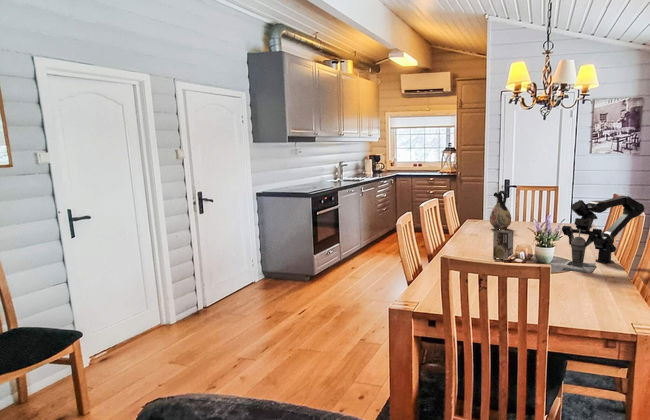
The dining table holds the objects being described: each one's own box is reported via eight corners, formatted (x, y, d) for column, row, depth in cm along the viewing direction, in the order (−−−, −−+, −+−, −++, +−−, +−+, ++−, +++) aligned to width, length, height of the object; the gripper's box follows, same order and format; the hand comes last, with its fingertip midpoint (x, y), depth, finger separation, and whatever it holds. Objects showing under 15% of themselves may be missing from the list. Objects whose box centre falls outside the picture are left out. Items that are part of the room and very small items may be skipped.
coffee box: (513, 259, 253) (514, 231, 251) (507, 261, 249) (508, 233, 247) (498, 256, 260) (498, 229, 258) (492, 258, 256) (493, 231, 254)
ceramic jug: (485, 228, 344) (485, 189, 340) (501, 226, 349) (502, 188, 344) (499, 232, 328) (500, 191, 324) (517, 230, 333) (518, 190, 328)
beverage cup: (583, 264, 235) (585, 227, 232) (587, 268, 228) (589, 229, 225) (568, 263, 237) (569, 226, 234) (571, 267, 230) (573, 229, 227)
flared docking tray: (595, 266, 234) (596, 263, 233) (590, 273, 222) (590, 269, 222) (568, 263, 242) (568, 259, 241) (562, 269, 230) (562, 266, 230)
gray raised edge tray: (596, 266, 233) (596, 266, 233) (591, 273, 222) (591, 272, 222) (568, 263, 241) (568, 262, 241) (562, 269, 231) (562, 268, 231)
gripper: (563, 210, 238) (554, 234, 232) (603, 213, 224) (594, 239, 218) (568, 222, 244) (560, 246, 239) (607, 226, 230) (599, 251, 225)
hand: (577, 245), depth 230 cm, fingers closed on beverage cup, 7 cm apart
